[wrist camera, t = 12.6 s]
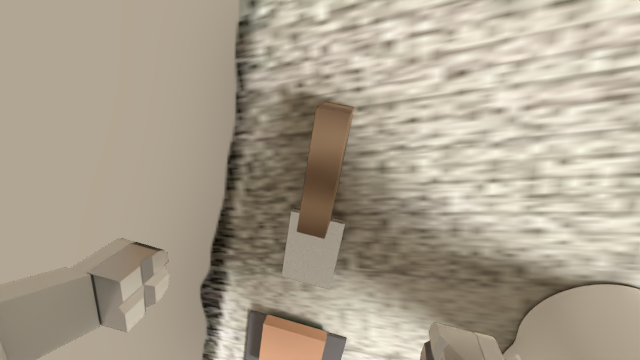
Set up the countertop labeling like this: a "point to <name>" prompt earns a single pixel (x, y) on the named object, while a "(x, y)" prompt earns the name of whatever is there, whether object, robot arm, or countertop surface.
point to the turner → (319, 201)
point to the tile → (290, 340)
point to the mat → (256, 321)
